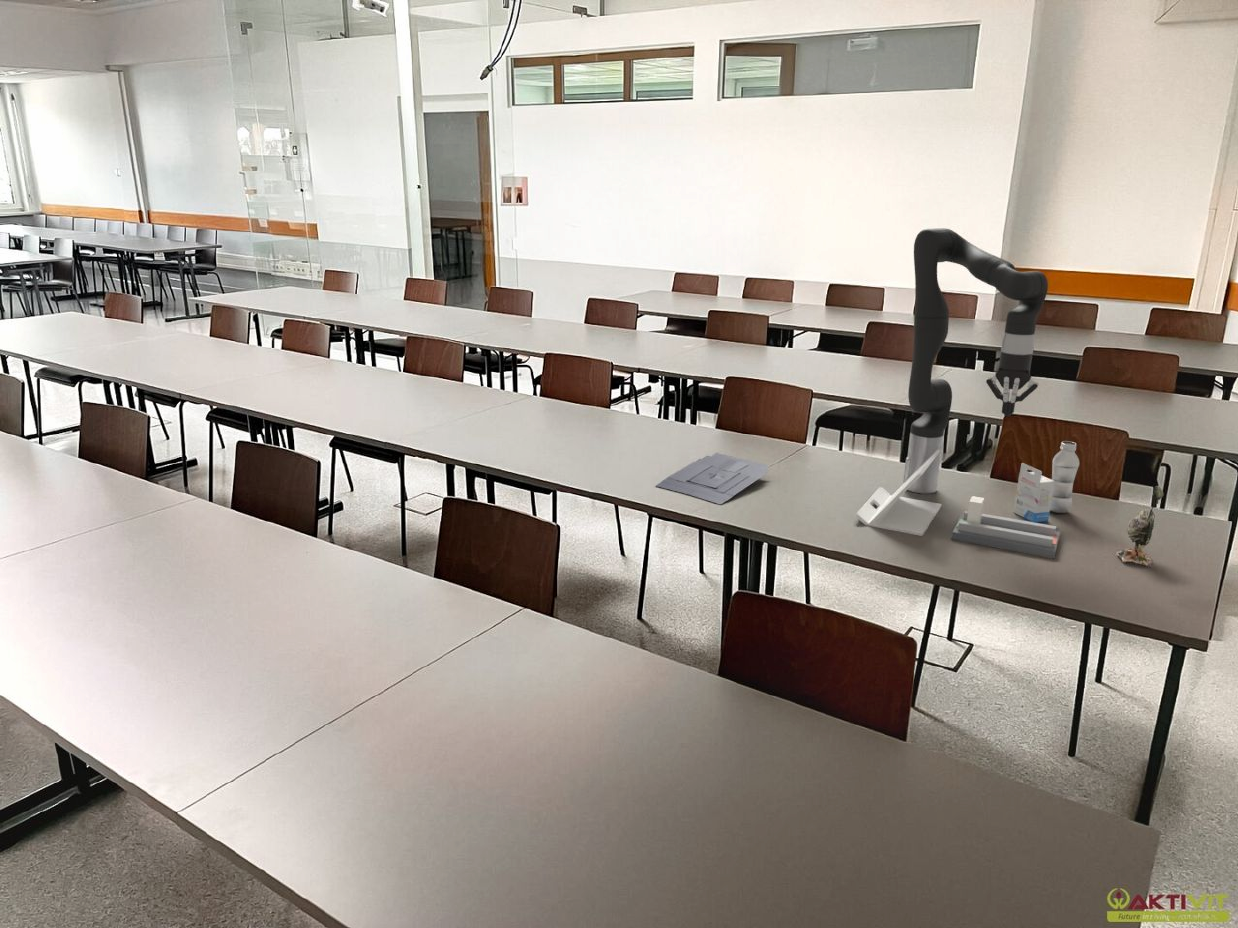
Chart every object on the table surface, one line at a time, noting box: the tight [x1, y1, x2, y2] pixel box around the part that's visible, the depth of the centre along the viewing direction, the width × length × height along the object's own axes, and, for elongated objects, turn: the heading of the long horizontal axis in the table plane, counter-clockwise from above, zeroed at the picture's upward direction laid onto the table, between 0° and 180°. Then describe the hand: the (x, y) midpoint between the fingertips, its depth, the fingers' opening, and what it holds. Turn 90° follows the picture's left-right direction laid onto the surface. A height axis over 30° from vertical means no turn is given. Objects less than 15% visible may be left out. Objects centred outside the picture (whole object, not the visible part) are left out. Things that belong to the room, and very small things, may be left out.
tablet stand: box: [854, 449, 942, 537], centre depth 238 cm, size 18×25×17 cm
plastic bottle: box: [1050, 440, 1080, 514], centre depth 240 cm, size 6×7×20 cm
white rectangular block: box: [967, 495, 985, 524], centre depth 226 cm, size 3×4×7 cm
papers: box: [655, 452, 772, 505], centre depth 265 cm, size 24×30×4 cm
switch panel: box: [951, 510, 1061, 559], centre depth 224 cm, size 24×14×4 cm, turn 60°
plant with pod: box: [1116, 485, 1164, 567], centre depth 210 cm, size 8×11×20 cm
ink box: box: [1013, 462, 1055, 523], centre depth 237 cm, size 8×5×15 cm, turn 14°
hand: (1007, 415), depth 229 cm, fingers closed
